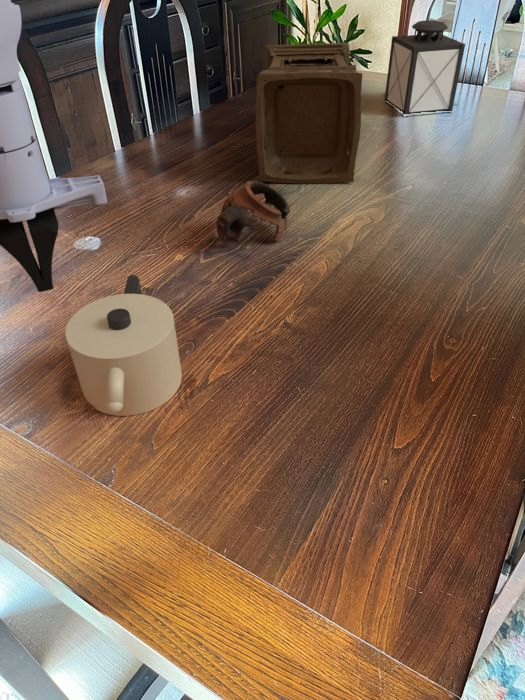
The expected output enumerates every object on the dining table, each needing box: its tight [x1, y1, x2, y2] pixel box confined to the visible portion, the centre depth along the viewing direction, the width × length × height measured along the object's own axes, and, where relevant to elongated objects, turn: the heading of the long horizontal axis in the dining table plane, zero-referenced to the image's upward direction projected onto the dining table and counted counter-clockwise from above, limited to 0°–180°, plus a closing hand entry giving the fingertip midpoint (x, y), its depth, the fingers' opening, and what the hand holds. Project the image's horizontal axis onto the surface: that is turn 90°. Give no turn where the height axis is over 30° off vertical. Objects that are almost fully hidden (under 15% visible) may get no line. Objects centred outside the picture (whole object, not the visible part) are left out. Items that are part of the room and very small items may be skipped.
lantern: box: [384, 0, 466, 114], centre depth 114 cm, size 11×11×28 cm
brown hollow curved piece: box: [215, 180, 291, 243], centre depth 77 cm, size 12×10×8 cm
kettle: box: [64, 274, 183, 417], centre depth 52 cm, size 17×10×8 cm, turn 3°
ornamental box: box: [255, 42, 363, 185], centre depth 100 cm, size 35×18×18 cm, turn 177°
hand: (44, 285), depth 53 cm, fingers closed
